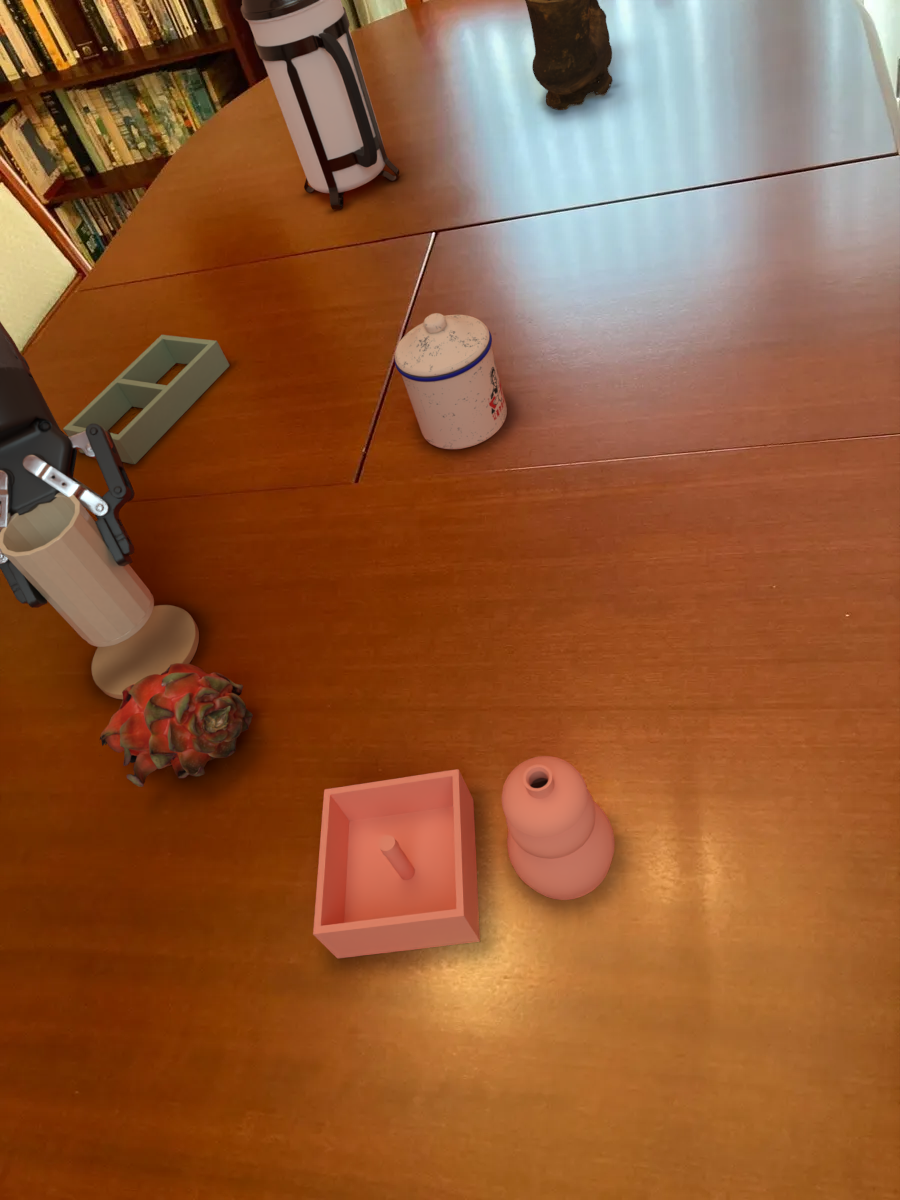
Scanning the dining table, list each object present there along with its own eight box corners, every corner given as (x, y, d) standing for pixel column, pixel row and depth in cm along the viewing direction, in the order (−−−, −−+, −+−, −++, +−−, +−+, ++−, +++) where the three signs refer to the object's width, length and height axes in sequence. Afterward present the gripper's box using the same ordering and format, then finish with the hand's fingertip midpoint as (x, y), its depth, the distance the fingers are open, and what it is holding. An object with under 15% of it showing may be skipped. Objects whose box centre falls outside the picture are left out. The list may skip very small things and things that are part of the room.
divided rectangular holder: (80, 452, 100) (62, 428, 98) (175, 358, 109) (161, 334, 106) (135, 464, 96) (118, 440, 93) (230, 365, 104) (216, 340, 102)
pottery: (337, 958, 55) (275, 897, 47) (345, 818, 61) (291, 745, 54) (628, 924, 52) (610, 852, 44) (605, 780, 58) (586, 697, 51)
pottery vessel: (547, 66, 139) (524, -85, 125) (616, 51, 136) (601, -106, 122) (534, 137, 124) (506, -27, 109) (612, 121, 121) (593, -49, 106)
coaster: (74, 682, 76) (69, 677, 76) (144, 600, 81) (140, 594, 80) (150, 713, 72) (146, 708, 71) (220, 624, 76) (216, 618, 76)
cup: (67, 636, 73) (-19, 546, 64) (117, 579, 76) (41, 486, 68) (119, 655, 69) (35, 563, 61) (169, 595, 73) (96, 500, 64)
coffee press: (285, 219, 127) (188, -20, 105) (328, 165, 136) (247, -67, 114) (392, 210, 120) (313, -48, 98) (430, 153, 129) (366, -95, 107)
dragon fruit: (286, 754, 68) (156, 785, 71) (262, 646, 69) (136, 682, 72) (225, 770, 59) (82, 804, 63) (199, 647, 60) (60, 688, 64)
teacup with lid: (520, 433, 83) (494, 327, 74) (428, 464, 83) (392, 362, 75) (491, 366, 91) (465, 263, 82) (408, 395, 91) (373, 295, 83)
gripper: (-138, 419, 62) (-27, 629, 63) (50, 332, 64) (157, 539, 64) (-84, 438, 70) (15, 626, 71) (84, 361, 71) (179, 545, 72)
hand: (82, 583), depth 67 cm, fingers closed on cup, 6 cm apart
